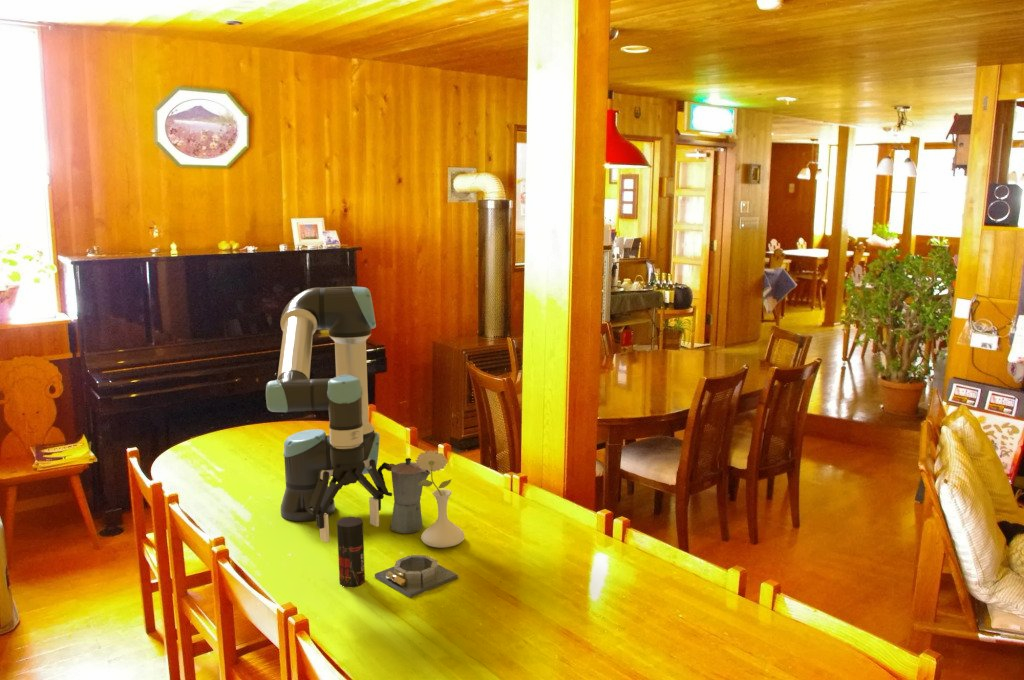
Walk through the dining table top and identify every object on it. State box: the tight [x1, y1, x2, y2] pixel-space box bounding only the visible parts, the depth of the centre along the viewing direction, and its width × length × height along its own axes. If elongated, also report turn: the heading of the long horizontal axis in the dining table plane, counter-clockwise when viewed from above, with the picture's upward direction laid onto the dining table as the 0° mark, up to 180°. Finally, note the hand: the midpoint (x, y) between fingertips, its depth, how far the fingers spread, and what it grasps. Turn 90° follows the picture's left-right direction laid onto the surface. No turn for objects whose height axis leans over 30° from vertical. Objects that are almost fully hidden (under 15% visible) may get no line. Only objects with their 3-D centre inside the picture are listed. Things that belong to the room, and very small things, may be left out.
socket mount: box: [374, 554, 459, 599], centre depth 198 cm, size 14×14×4 cm
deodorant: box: [336, 516, 366, 588], centre depth 195 cm, size 6×6×15 cm
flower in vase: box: [415, 449, 466, 549], centre depth 216 cm, size 13×11×25 cm
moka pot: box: [377, 457, 431, 535], centre depth 225 cm, size 10×15×20 cm, turn 78°
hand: (350, 532), depth 194 cm, fingers open, 13 cm apart
